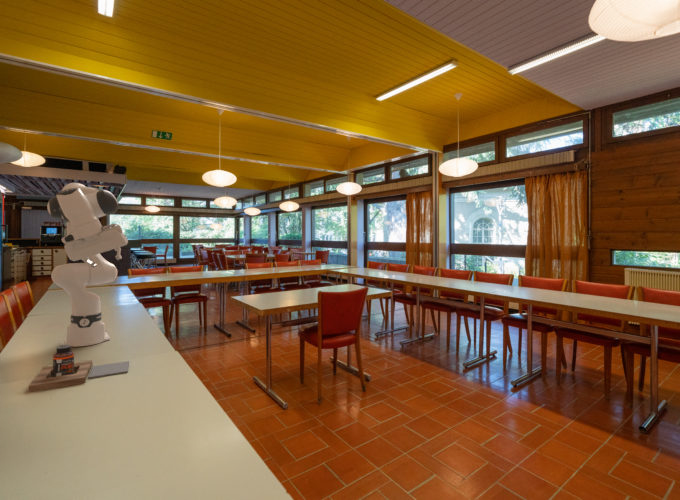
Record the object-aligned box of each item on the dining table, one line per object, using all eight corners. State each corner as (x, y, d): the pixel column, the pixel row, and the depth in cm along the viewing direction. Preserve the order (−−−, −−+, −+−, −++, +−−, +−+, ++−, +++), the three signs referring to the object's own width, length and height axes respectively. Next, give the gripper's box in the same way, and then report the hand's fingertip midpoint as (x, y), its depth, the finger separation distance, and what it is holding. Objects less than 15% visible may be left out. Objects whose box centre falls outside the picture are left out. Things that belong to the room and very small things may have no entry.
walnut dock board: (43, 371, 124) (43, 366, 124) (92, 365, 132) (92, 360, 132) (28, 391, 108) (28, 385, 108) (84, 382, 116) (84, 377, 116)
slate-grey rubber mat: (93, 367, 129) (93, 366, 129) (129, 362, 135) (129, 360, 135) (88, 378, 119) (88, 377, 119) (127, 372, 125) (127, 371, 125)
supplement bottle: (61, 381, 116) (61, 349, 116) (48, 379, 118) (48, 348, 117) (78, 374, 122) (78, 344, 122) (65, 373, 124) (65, 343, 123)
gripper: (120, 220, 130) (136, 252, 134) (64, 237, 126) (83, 269, 130) (115, 223, 124) (132, 256, 129) (56, 241, 120) (75, 274, 124)
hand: (107, 263), depth 129 cm, fingers open, 8 cm apart
